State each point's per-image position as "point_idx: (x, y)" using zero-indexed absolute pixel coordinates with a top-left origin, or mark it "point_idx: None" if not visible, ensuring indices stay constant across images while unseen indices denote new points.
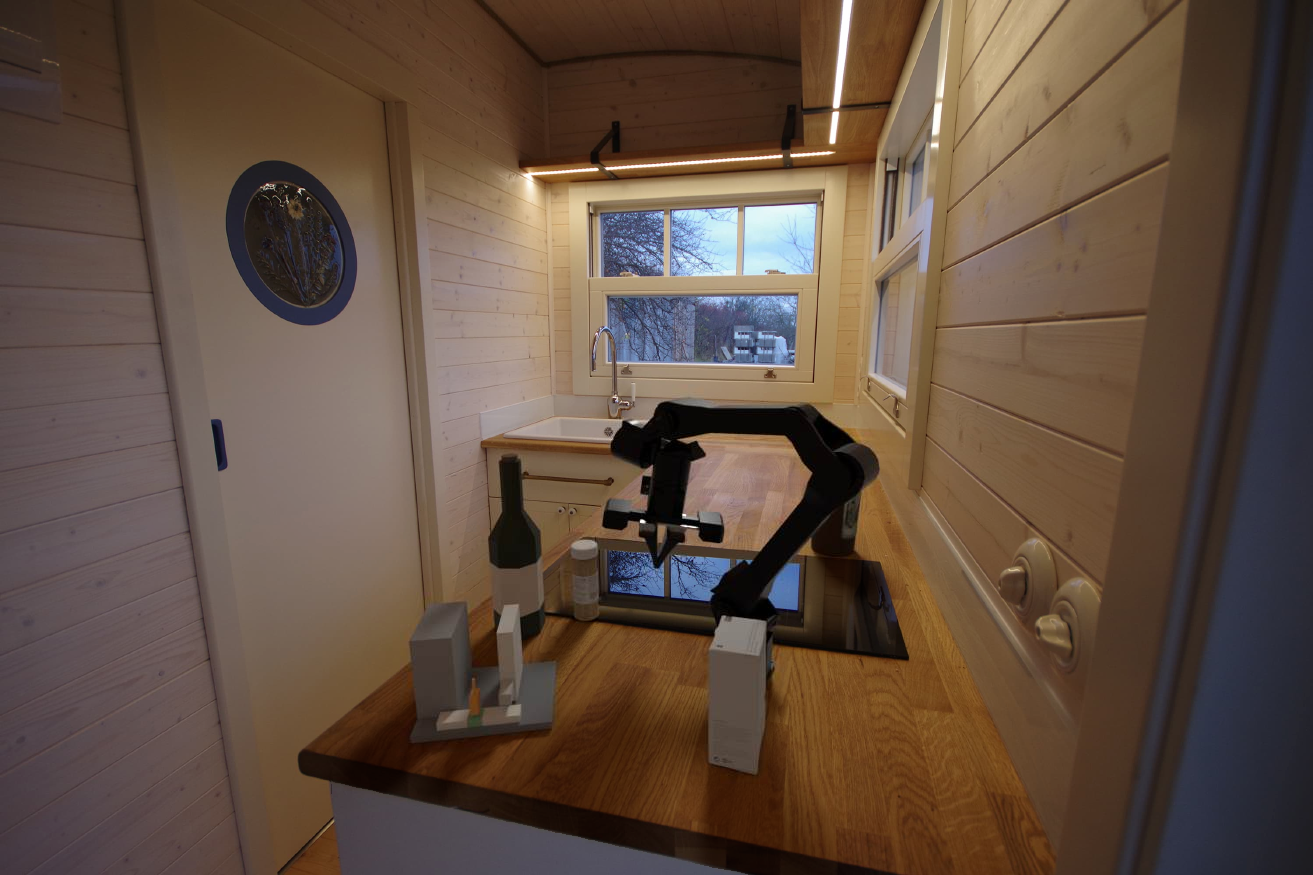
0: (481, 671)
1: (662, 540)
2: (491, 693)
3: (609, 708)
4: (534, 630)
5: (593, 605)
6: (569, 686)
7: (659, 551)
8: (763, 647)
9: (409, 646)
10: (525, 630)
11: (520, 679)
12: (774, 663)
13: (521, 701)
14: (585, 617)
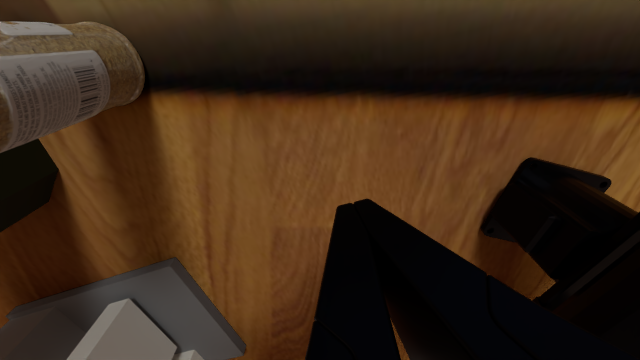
0: (71, 306)
1: (467, 356)
2: None
3: (304, 311)
4: (45, 186)
5: (115, 96)
6: (225, 288)
7: (393, 273)
8: None
9: None
10: (31, 208)
11: (150, 322)
12: (608, 186)
13: (182, 338)
14: (120, 105)
